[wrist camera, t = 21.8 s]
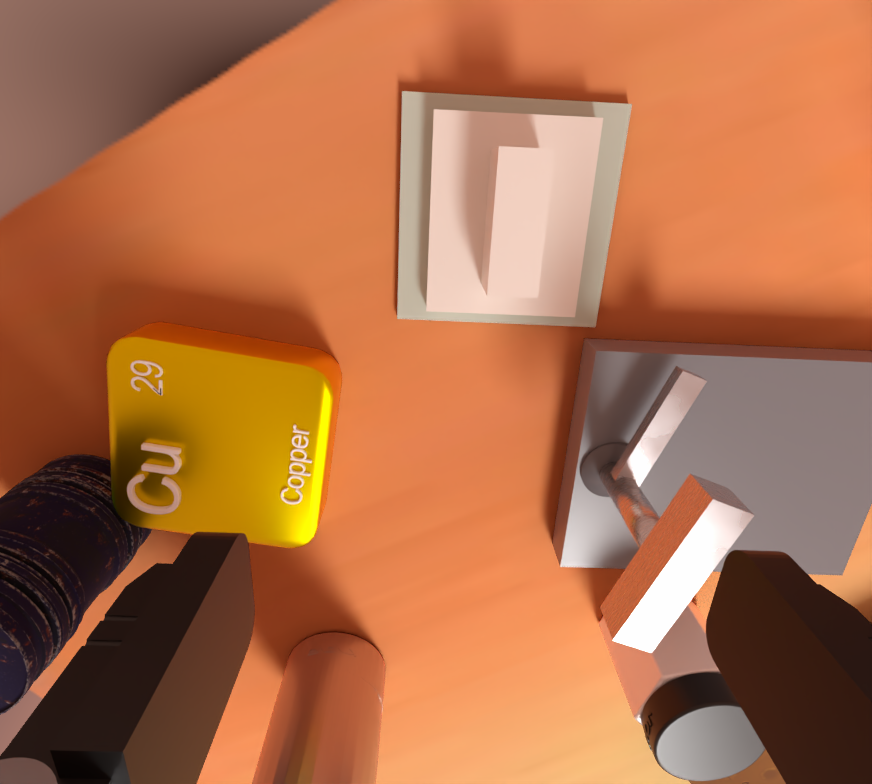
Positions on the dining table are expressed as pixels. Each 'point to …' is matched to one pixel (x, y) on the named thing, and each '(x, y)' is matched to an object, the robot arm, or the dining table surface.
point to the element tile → (221, 433)
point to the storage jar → (55, 563)
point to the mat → (418, 193)
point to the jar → (685, 703)
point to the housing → (726, 446)
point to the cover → (509, 211)
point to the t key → (665, 526)
